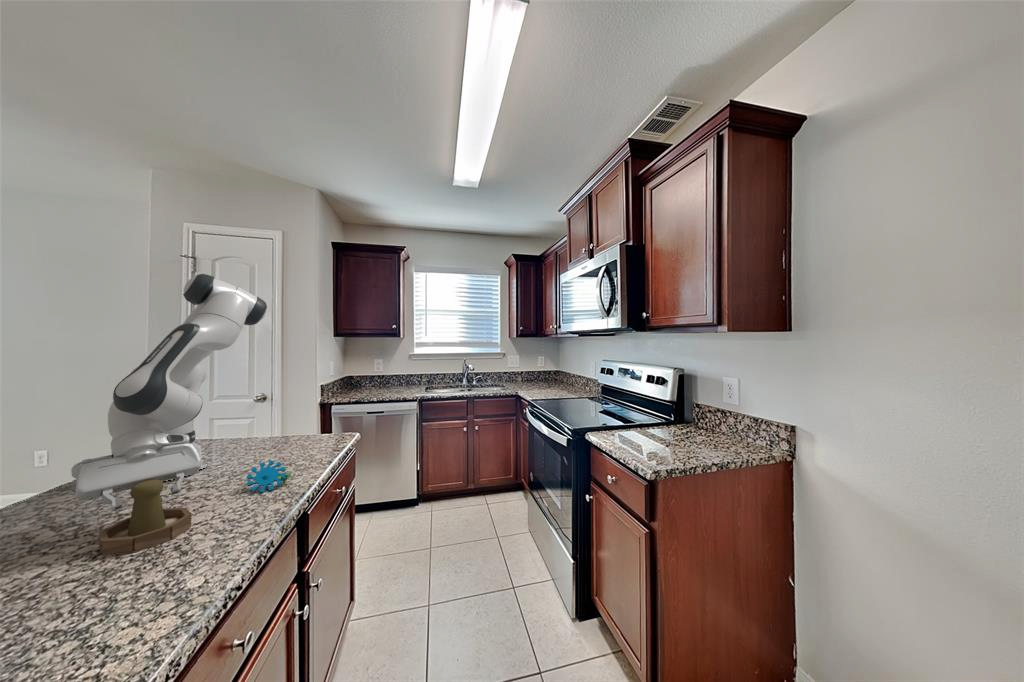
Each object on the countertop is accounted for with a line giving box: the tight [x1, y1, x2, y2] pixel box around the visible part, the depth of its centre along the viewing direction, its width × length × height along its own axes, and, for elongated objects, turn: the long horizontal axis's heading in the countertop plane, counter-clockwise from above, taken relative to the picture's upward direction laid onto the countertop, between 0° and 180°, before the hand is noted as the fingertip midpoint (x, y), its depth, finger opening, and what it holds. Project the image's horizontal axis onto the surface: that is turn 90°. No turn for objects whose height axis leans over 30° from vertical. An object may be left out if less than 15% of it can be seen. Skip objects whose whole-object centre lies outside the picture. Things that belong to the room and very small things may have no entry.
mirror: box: [98, 507, 192, 556], centre depth 79 cm, size 14×14×3 cm
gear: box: [246, 460, 291, 494], centre depth 106 cm, size 11×6×10 cm
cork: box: [128, 480, 166, 537], centre depth 79 cm, size 6×6×11 cm
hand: (148, 500), depth 78 cm, fingers open, 8 cm apart
